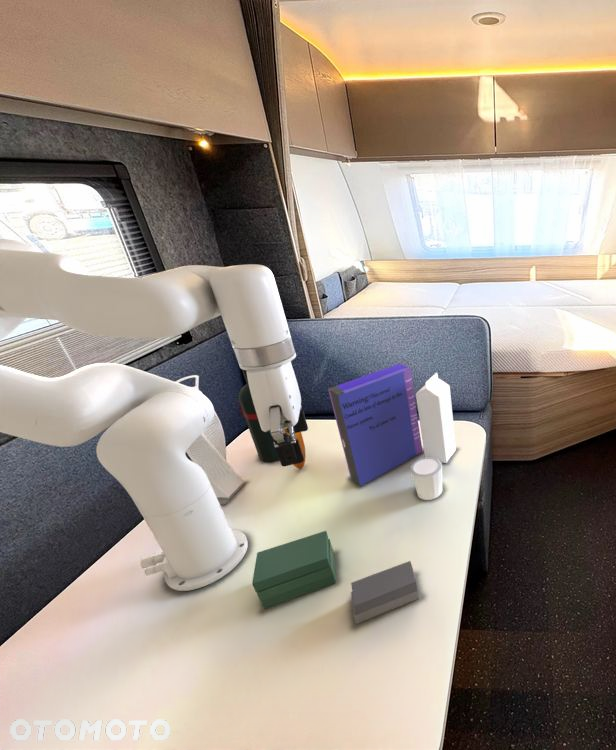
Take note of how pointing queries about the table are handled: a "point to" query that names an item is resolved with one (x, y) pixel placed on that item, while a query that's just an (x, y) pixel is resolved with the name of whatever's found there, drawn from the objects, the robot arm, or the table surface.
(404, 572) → the grey books
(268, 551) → the green flat block
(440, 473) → the white cylinder
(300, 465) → the carrot
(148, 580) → the table surface
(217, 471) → the skyscraper
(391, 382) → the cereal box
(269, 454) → the wine bottle
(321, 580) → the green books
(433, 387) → the milk
